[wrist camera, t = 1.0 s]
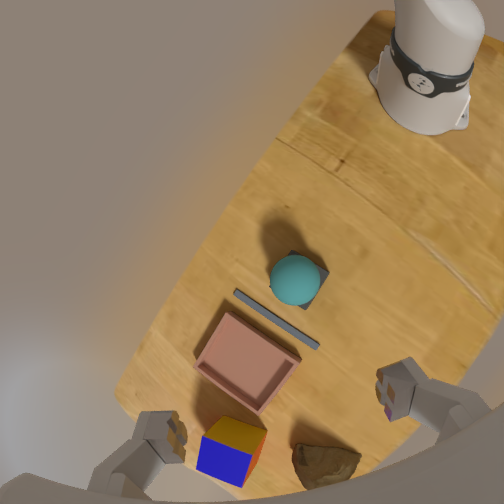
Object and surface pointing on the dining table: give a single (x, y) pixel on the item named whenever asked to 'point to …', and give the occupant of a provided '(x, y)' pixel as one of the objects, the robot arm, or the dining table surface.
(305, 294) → the ball
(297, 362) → the tray
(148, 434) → the robot arm
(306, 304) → the grey square frame
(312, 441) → the dining table surface
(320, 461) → the rock
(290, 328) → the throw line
